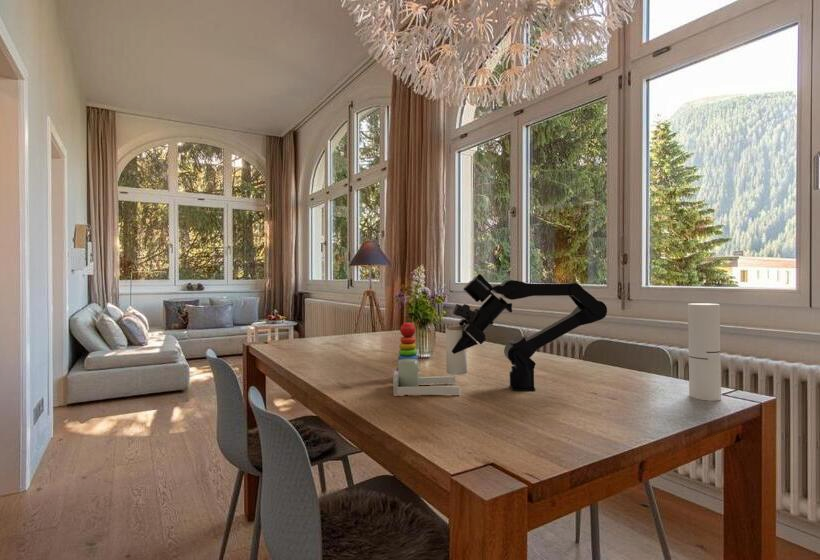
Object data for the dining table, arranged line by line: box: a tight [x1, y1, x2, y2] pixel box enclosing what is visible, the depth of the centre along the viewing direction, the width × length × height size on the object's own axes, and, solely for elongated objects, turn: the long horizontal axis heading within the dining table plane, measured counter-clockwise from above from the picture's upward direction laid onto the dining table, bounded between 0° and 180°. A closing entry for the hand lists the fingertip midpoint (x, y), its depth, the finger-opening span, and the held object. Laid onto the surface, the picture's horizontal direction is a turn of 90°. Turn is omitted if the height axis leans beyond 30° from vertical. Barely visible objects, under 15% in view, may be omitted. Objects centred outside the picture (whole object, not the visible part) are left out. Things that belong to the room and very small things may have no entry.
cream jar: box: [445, 325, 468, 376], centre depth 133 cm, size 6×6×14 cm
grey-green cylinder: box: [397, 359, 420, 387], centre depth 133 cm, size 6×6×9 cm
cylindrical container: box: [687, 302, 722, 402], centre depth 120 cm, size 7×7×25 cm
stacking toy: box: [395, 321, 421, 377], centre depth 148 cm, size 8×8×19 cm
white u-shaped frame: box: [392, 370, 461, 396], centre depth 133 cm, size 19×15×4 cm
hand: (451, 350), depth 133 cm, fingers closed on cream jar, 6 cm apart
